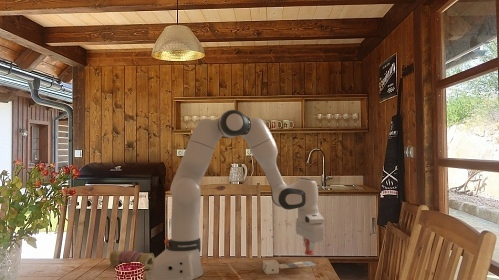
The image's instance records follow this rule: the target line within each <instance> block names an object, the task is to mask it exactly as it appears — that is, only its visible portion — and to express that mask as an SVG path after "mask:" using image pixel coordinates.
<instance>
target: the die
mask: <svg viewBox="0 0 499 280" xmlns="http://www.w3.org/2000/svg"><path fill="white" fill-rule="evenodd" d="M279 264H280V263H279V262H278V261H277V260H276V259H266V260H262V271H263V273H265V274H266V275H273V274H275V275H276V274H279V273H280V268H279Z"/></svg>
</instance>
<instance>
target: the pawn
mask: <svg viewBox="0 0 499 280" xmlns="http://www.w3.org/2000/svg"><path fill="white" fill-rule="evenodd" d="M305 244H306V248H305V251H304V254H305V256H313V255H315V253H314V250H312V251H311V250H309V245H310V242H309V240H308V239H306V242H305Z"/></svg>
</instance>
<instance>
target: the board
mask: <svg viewBox="0 0 499 280" xmlns="http://www.w3.org/2000/svg"><path fill="white" fill-rule="evenodd" d="M310 266H311V267H312V266H316V263H314V262H312V261H310V260H309V261H299V262H290V263H279V270H281V269H291V268H301V267H303V268H304V267H310Z"/></svg>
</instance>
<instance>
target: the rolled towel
mask: <svg viewBox="0 0 499 280" xmlns="http://www.w3.org/2000/svg"><path fill="white" fill-rule="evenodd" d="M155 258H156V257H155V255H154V253H153V252H149V253H144V252H138V251H135V250H129V251H128V250H127V251H126V250H120V249H114V250H112V251H111V252H110V254H109V263H110V265H112V266H114V265H115V266H116V265H120V264H122V263H131V262H140V263H142V264H144V266H145V268H144V269H148V270H151V268H152V263H153V261H154V259H155Z"/></svg>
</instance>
